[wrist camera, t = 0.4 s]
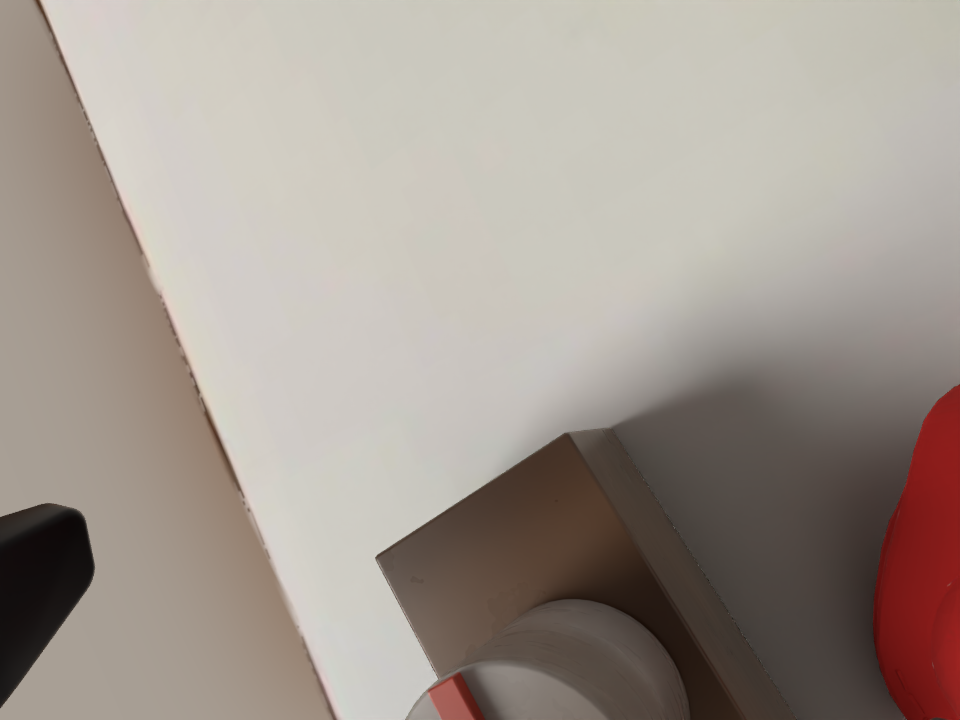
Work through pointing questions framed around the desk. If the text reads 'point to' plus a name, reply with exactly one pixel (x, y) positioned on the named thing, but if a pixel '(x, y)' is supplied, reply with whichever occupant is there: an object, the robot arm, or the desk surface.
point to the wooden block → (575, 571)
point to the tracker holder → (924, 575)
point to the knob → (562, 671)
